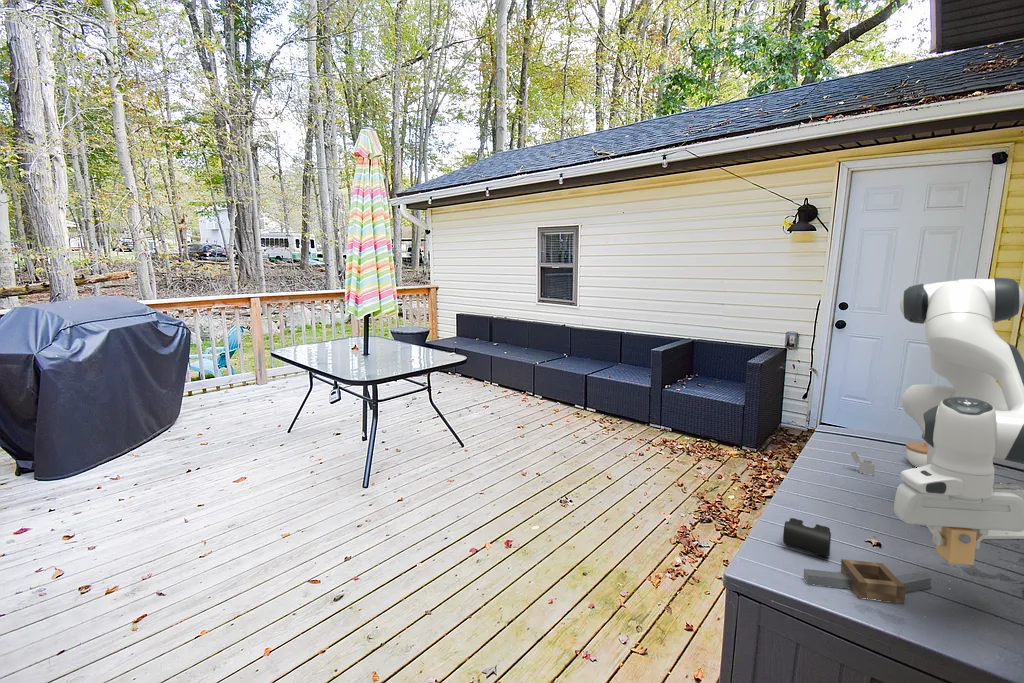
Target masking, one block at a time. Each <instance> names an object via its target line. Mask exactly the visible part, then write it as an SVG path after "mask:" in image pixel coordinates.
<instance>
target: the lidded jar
mask: <svg viewBox="0 0 1024 683" xmlns="http://www.w3.org/2000/svg"><path fill="white" fill-rule="evenodd" d="M905 448H906V449H905V452H906V453H905V454H906V458H907V460H908V461H909V463H911V465H912V466H913V465H914V466H915V467H914V466H913V467H914V468H916V467H921V466H925V465H927V443H926V441H924V442H920V441H919V442H918V441H911V442H906V444H905Z"/></svg>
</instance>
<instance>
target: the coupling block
mask: <svg viewBox="0 0 1024 683" xmlns="http://www.w3.org/2000/svg"><path fill="white" fill-rule="evenodd" d="M938 532H939V534H941V535H943V537H945V538H946V539H947V542H946V546H937V545H935V552H936V553H937V554H938V555H939V556H941V557H942V558H943V559H944V560H945V561H946V562H948V563H949V564H957V565H966V566H967V565H970V566H974V564H975V558H976V557H975V556H976V555H975V554H976V549H975V546H976V535H977V532H976V531H975V530H974V529H972V528H958V527H944V526H942V528H941V531H939V530H938Z"/></svg>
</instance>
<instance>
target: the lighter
mask: <svg viewBox="0 0 1024 683" xmlns="http://www.w3.org/2000/svg"><path fill="white" fill-rule="evenodd" d="M849 452H850V455H851V457H852V460H854V463H859V466H858V467H859V468H858V469H859V470H858V472H860V473H866V474H872V475H874V476H875V462H873V461H872V460H871V459H866V458H864V459H863V460H860V458H859V456H858V454H857V452H856V451H855V449H852V450H850V451H849ZM860 473H859V474H860Z"/></svg>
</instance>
